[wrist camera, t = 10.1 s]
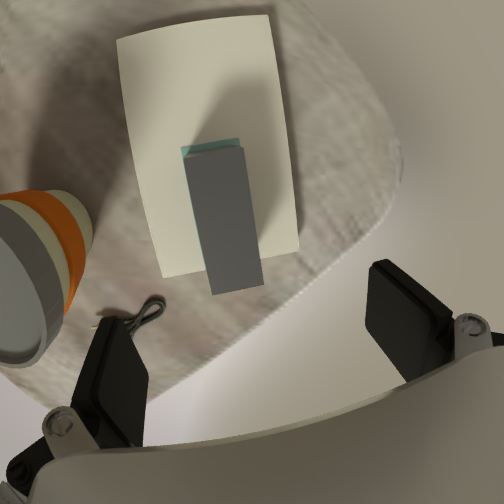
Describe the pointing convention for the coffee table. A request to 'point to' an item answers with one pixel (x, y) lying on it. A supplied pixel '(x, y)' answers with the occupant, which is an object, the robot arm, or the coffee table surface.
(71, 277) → the reusable coffee cup
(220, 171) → the block
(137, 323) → the composite cable
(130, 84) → the board
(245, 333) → the coffee table surface
